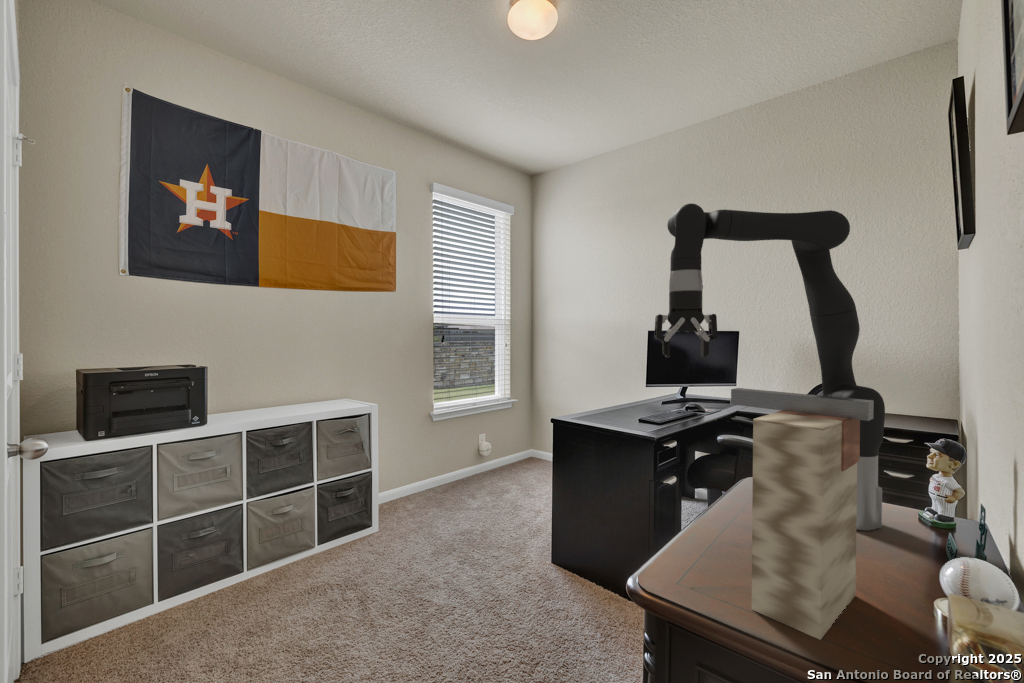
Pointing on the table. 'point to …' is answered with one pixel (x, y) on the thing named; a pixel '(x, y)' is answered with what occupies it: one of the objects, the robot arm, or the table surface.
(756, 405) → the metal block
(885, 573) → the table surface
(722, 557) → the table surface
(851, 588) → the zigzag patterned pillar
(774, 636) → the table surface
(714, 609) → the table surface
